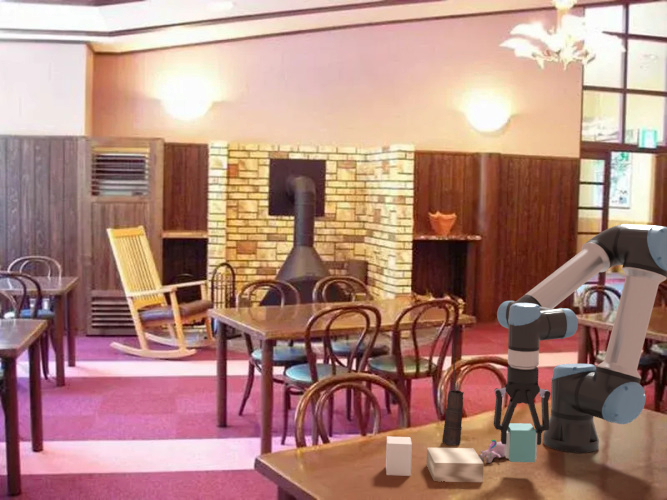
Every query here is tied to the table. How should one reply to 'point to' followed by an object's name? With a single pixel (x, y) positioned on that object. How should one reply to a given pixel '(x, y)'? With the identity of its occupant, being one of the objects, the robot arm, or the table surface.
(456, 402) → the butter churn
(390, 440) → the off-white block
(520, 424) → the teal block
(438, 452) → the birch base
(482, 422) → the table surface
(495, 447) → the pink animal figurine
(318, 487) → the table surface
